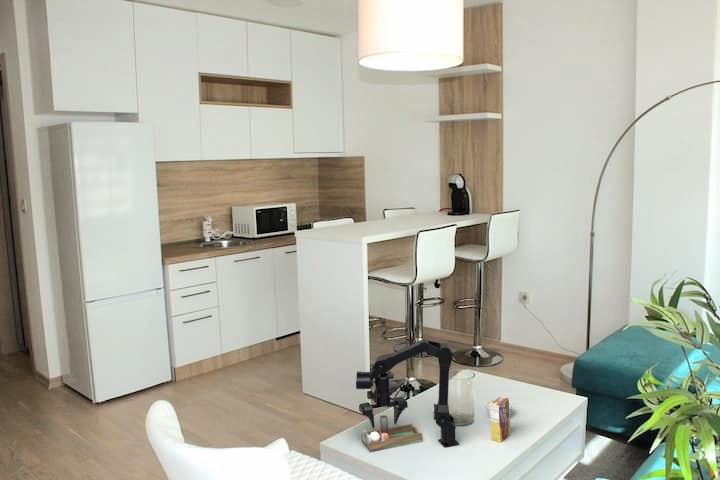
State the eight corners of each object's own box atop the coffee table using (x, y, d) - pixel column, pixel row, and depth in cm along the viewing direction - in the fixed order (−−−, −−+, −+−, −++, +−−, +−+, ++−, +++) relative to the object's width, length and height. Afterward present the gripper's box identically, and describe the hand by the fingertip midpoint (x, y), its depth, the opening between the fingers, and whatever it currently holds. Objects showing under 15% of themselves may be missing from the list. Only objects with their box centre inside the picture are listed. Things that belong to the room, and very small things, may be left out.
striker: (391, 443, 238) (390, 419, 237) (384, 444, 237) (383, 421, 236) (385, 435, 245) (384, 413, 244) (378, 437, 244) (377, 414, 243)
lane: (422, 441, 241) (421, 427, 240) (370, 452, 234) (369, 437, 233) (412, 431, 250) (412, 417, 249) (362, 441, 243) (361, 427, 243)
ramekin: (508, 410, 267) (508, 399, 266) (515, 421, 256) (515, 409, 255) (483, 412, 267) (482, 400, 266) (489, 422, 256) (488, 410, 255)
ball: (368, 442, 237) (377, 447, 238) (375, 432, 237) (383, 437, 238) (365, 437, 241) (373, 442, 242) (371, 428, 241) (379, 432, 242)
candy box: (500, 432, 246) (500, 396, 244) (510, 434, 243) (509, 398, 241) (490, 440, 239) (489, 403, 237) (500, 443, 237) (499, 405, 235)
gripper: (397, 378, 249) (398, 414, 251) (353, 385, 243) (355, 422, 245) (407, 387, 238) (408, 425, 240) (362, 395, 233) (364, 433, 235)
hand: (384, 426), depth 240 cm, fingers open, 9 cm apart
